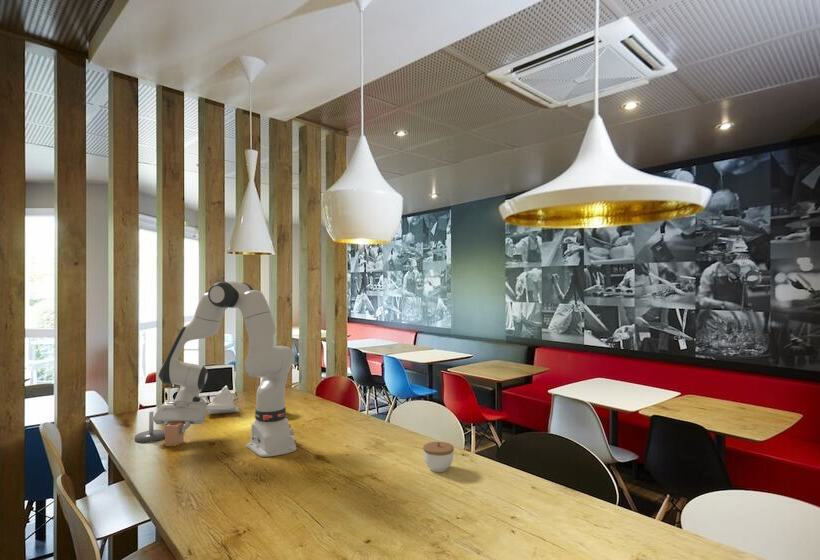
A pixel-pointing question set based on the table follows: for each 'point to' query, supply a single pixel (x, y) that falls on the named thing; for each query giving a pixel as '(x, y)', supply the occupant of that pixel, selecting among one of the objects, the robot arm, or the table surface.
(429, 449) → the lidded jar
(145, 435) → the stand
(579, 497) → the table surface
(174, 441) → the collar
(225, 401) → the white irregular peaked block
